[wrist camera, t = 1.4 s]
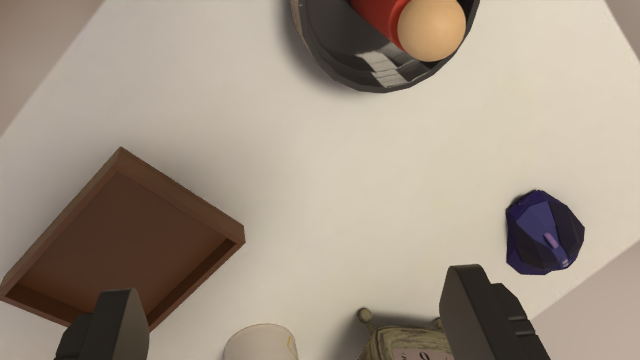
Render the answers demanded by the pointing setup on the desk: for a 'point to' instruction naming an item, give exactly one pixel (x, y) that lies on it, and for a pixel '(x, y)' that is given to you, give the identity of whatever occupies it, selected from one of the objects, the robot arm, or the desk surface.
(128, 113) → the desk surface
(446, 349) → the tabletop clock
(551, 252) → the computer mouse
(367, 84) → the pan
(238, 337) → the white cylinder
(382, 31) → the doll
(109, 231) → the tray
